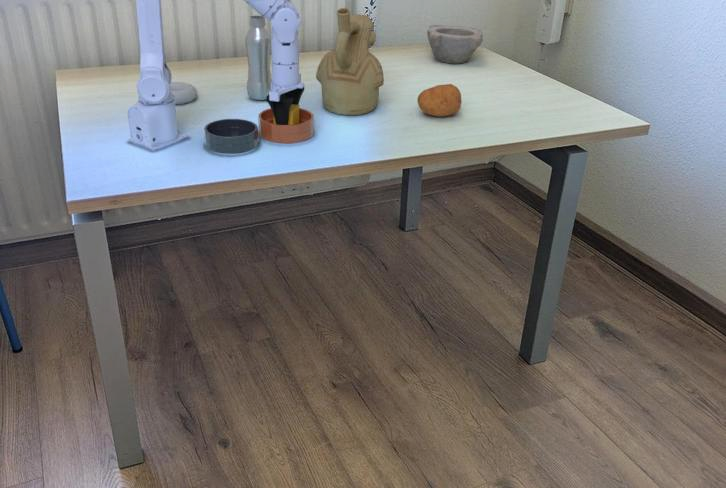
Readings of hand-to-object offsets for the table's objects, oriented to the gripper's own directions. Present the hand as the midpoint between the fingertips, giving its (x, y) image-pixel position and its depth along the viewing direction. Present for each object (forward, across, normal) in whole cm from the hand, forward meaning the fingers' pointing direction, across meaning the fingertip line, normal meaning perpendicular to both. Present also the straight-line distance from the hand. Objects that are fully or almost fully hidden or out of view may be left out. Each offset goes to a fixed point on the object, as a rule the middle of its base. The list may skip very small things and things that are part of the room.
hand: (286, 123), depth 147 cm
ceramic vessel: (+3, +23, -8) cm, 24 cm away
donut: (+3, +13, +34) cm, 36 cm away
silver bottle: (+3, +21, +15) cm, 26 cm away
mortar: (+3, +77, -27) cm, 82 cm away
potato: (+3, +25, -30) cm, 40 cm away
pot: (+3, -10, +9) cm, 13 cm away
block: (+2, 0, 0) cm, 2 cm away
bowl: (+3, 0, 0) cm, 3 cm away
